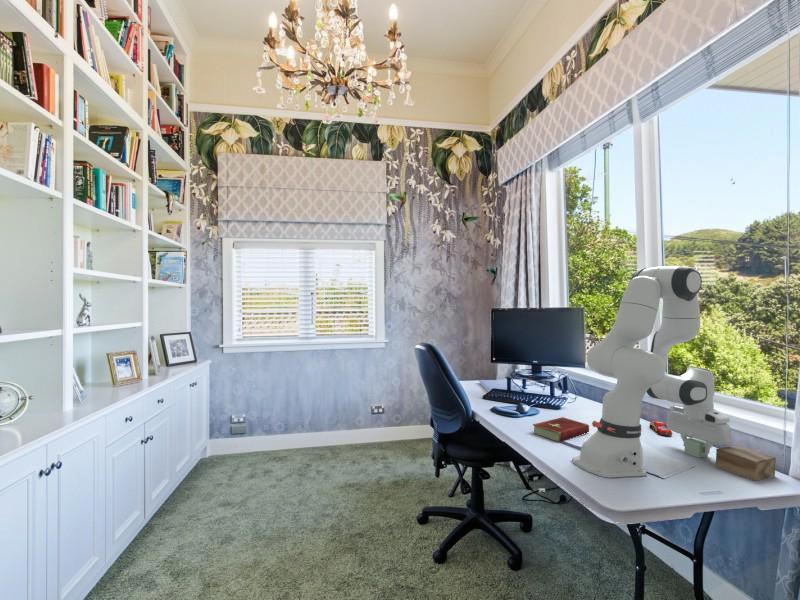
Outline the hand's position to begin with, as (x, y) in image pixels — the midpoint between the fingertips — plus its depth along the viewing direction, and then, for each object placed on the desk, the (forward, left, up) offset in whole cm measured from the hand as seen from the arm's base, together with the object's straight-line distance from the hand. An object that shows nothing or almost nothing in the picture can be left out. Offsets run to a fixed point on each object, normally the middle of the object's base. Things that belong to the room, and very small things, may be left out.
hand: (696, 449), depth 146 cm
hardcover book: (-32, +32, -2) cm, 46 cm away
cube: (0, 0, -2) cm, 2 cm away
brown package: (0, -15, -2) cm, 15 cm away
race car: (+13, +22, -2) cm, 26 cm away
